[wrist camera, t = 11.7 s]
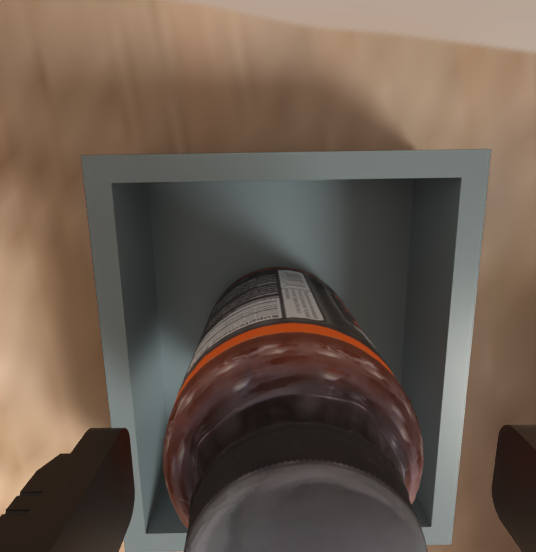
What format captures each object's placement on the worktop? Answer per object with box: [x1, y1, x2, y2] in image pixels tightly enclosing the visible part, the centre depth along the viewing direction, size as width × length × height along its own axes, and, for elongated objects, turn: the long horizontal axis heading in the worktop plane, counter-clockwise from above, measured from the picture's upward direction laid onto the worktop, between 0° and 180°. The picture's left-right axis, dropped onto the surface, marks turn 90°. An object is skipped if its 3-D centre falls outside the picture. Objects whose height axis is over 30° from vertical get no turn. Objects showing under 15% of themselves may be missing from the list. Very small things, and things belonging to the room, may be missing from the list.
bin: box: [81, 149, 491, 552], centre depth 16 cm, size 12×14×5 cm
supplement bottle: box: [163, 267, 427, 552], centre depth 12 cm, size 6×6×11 cm
